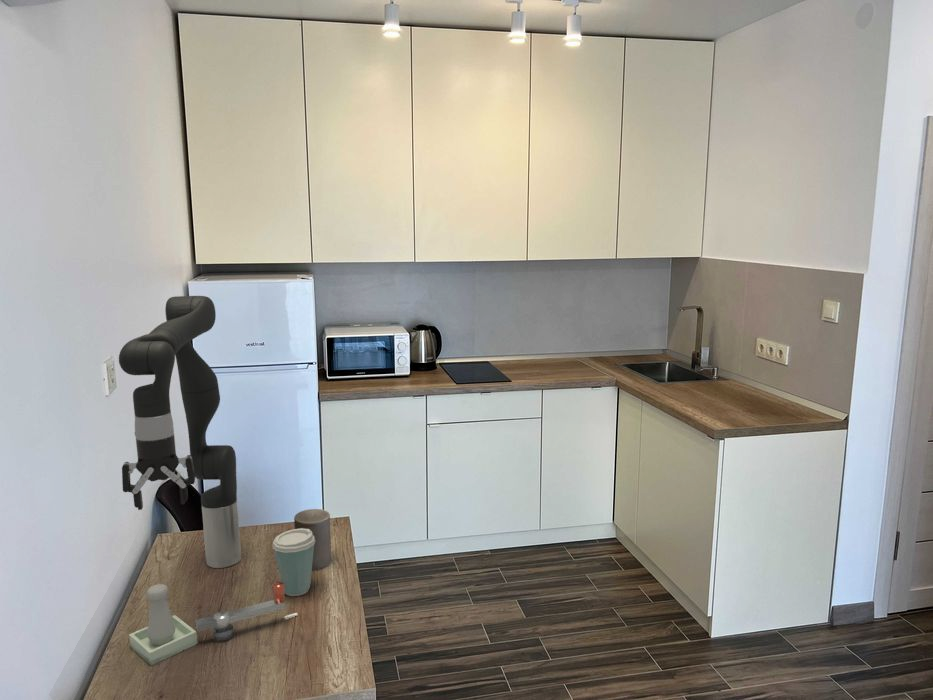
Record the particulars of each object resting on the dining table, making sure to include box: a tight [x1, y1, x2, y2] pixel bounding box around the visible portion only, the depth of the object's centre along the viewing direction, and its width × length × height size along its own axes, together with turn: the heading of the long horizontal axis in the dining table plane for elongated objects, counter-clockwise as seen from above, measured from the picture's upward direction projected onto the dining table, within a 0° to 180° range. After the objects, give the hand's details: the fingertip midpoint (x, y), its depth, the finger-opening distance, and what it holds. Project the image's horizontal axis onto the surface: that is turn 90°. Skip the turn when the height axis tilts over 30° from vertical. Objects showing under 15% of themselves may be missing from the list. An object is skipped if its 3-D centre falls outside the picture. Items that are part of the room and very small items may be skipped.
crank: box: [195, 581, 286, 633], centre depth 160 cm, size 20×4×7 cm, turn 118°
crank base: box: [212, 623, 235, 643], centre depth 159 cm, size 4×4×2 cm
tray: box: [128, 614, 199, 667], centre depth 156 cm, size 10×10×3 cm
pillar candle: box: [293, 508, 332, 571], centre depth 193 cm, size 10×10×15 cm
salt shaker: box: [146, 583, 176, 646], centre depth 155 cm, size 6×6×13 cm
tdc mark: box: [283, 612, 299, 620], centre depth 167 cm, size 3×1×1 cm, turn 120°
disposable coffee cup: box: [272, 528, 315, 597], centre depth 178 cm, size 11×11×15 cm
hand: (161, 505), depth 152 cm, fingers open, 8 cm apart
